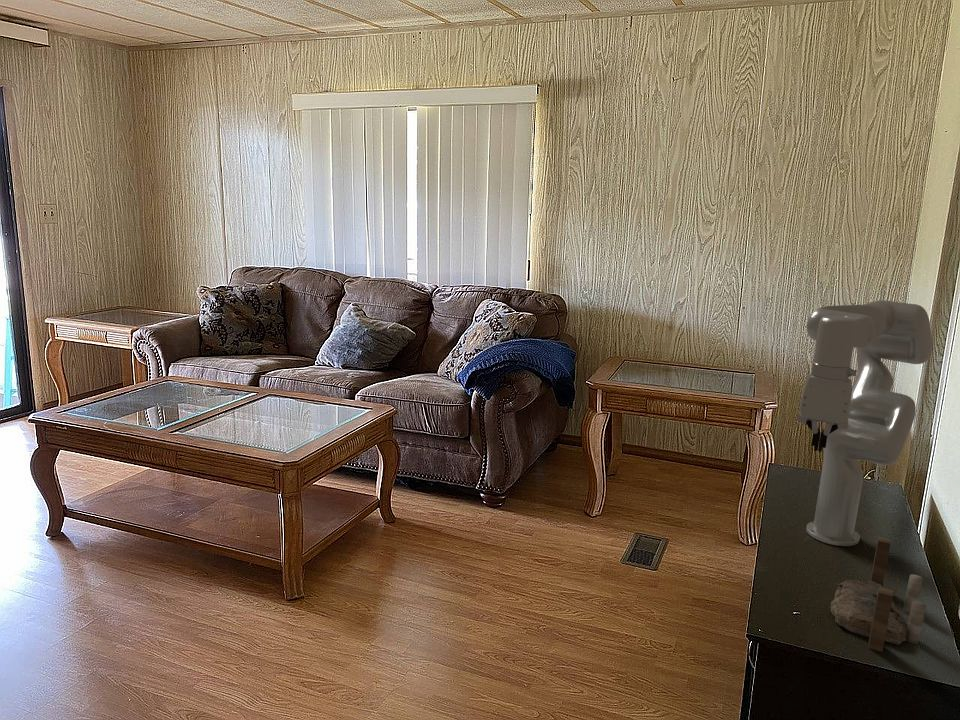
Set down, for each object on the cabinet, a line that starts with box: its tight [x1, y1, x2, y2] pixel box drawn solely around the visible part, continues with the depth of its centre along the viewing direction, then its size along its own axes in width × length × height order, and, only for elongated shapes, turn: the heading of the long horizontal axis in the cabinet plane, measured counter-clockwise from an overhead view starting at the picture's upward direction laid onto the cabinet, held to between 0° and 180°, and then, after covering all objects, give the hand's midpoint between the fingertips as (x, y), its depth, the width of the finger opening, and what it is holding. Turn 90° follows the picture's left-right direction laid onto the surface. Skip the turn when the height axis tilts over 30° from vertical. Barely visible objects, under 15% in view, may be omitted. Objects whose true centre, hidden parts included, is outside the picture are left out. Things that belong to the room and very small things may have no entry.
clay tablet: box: [830, 579, 907, 646], centre depth 157 cm, size 14×5×20 cm
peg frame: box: [868, 536, 927, 653], centre depth 154 cm, size 27×9×12 cm, turn 153°
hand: (818, 449), depth 170 cm, fingers closed
